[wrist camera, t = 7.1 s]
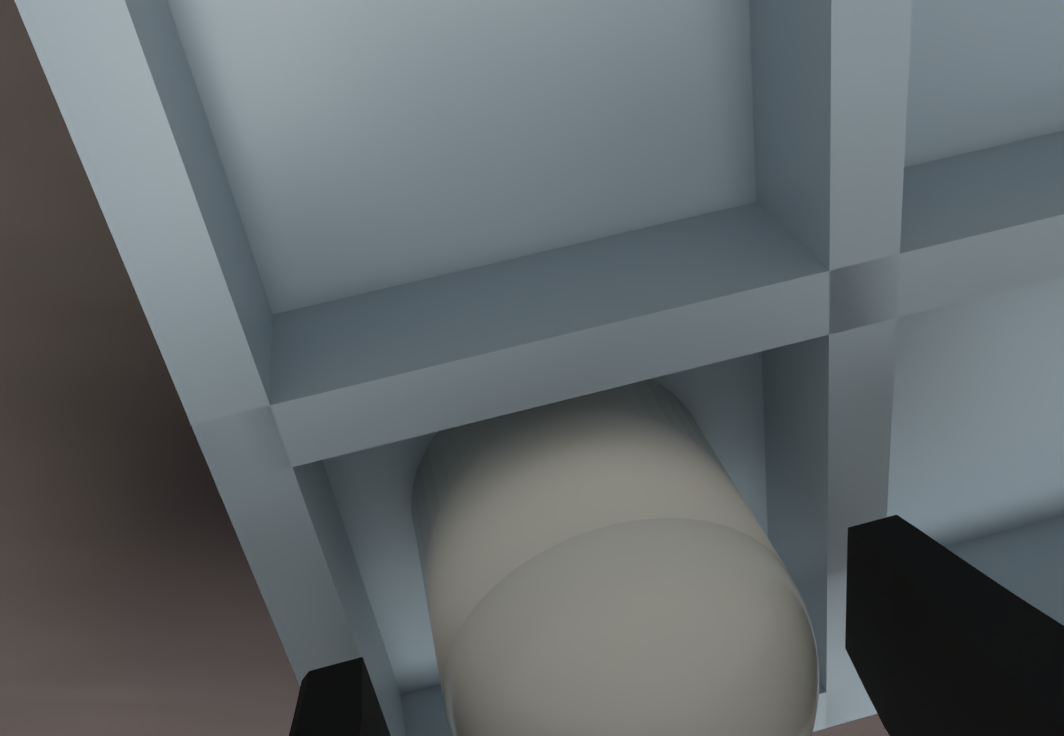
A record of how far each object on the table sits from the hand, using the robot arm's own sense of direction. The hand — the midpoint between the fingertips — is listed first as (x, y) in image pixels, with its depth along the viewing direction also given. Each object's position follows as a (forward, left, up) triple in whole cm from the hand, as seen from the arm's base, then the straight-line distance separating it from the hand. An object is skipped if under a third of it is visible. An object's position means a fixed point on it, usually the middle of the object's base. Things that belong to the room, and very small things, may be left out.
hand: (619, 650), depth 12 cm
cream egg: (0, 0, -3) cm, 3 cm away
